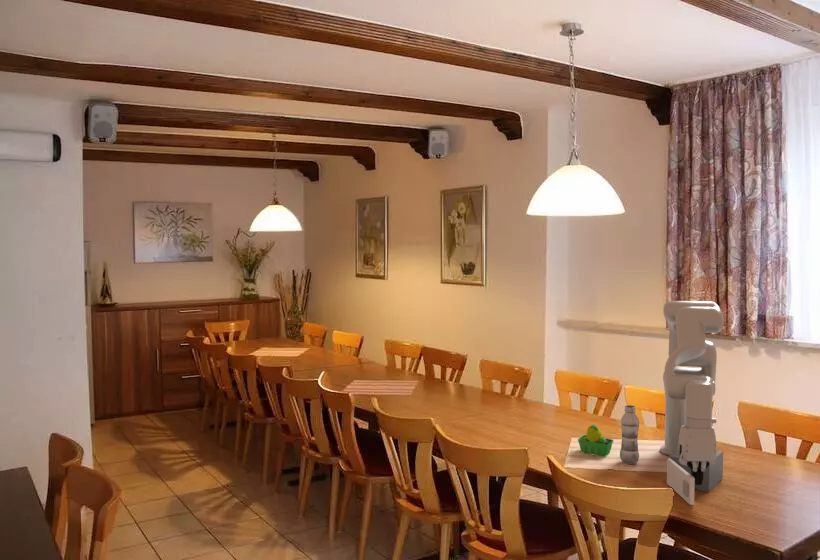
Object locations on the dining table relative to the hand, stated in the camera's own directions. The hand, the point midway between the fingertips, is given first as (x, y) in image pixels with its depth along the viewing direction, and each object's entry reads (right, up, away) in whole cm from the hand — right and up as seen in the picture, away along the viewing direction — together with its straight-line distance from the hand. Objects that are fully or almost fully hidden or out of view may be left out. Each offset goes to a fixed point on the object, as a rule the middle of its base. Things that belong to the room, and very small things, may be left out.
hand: (697, 483), depth 207 cm
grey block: (+7, -5, +18) cm, 20 cm away
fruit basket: (-18, -3, +48) cm, 51 cm away
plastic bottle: (-8, -4, +37) cm, 38 cm away
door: (-3, -5, +6) cm, 8 cm away
